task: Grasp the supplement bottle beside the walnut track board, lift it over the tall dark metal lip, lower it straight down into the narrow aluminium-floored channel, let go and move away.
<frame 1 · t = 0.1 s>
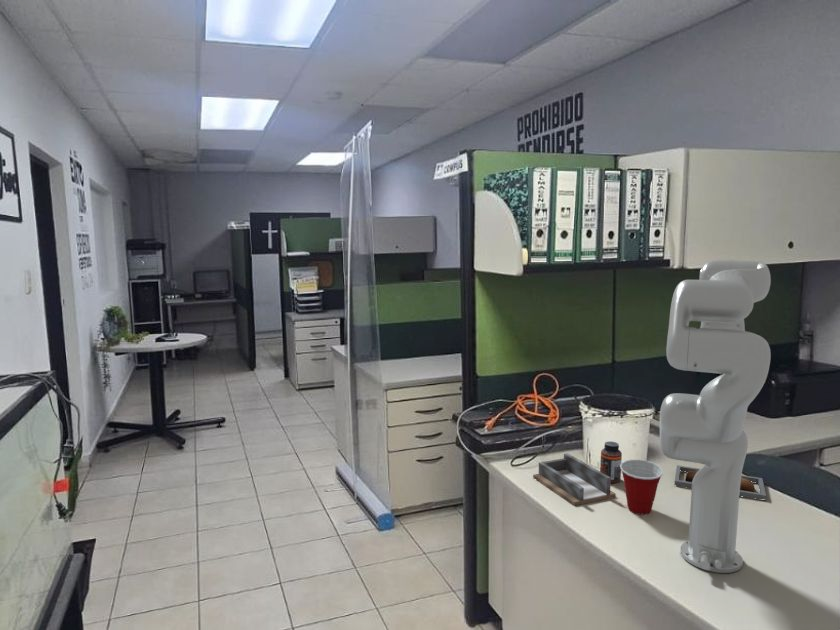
hand: (719, 376, 150), 37 cm above the table, tool pointing down, fingers open, 9 cm apart
sunglasses case: (719, 486, 173), on the table
plastic cup: (639, 510, 157), on the table
desk tray frame: (718, 484, 173), on the table
track board: (572, 487, 171), on the table
supplement bottle: (610, 480, 176), on the table
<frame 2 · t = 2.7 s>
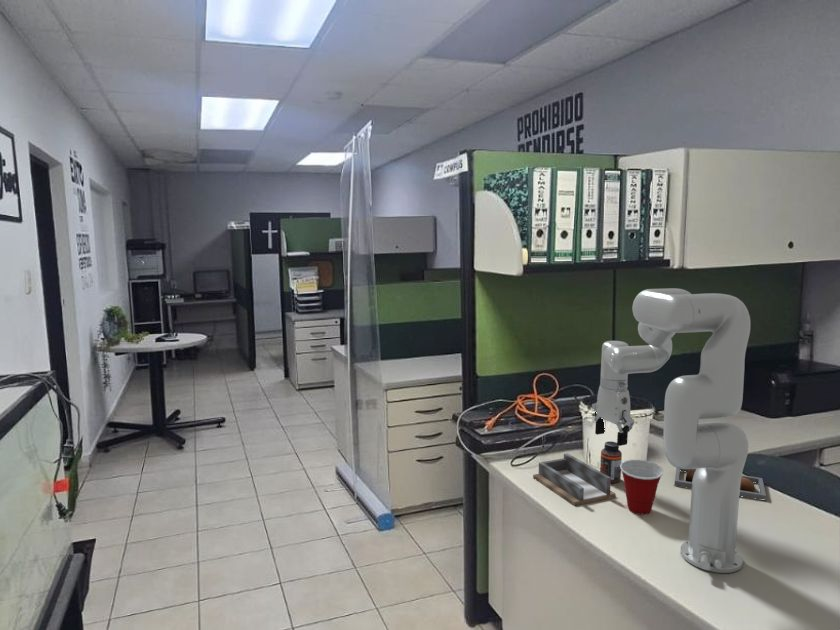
hand: (610, 439, 175), 12 cm above the table, tool pointing down, fingers open, 9 cm apart
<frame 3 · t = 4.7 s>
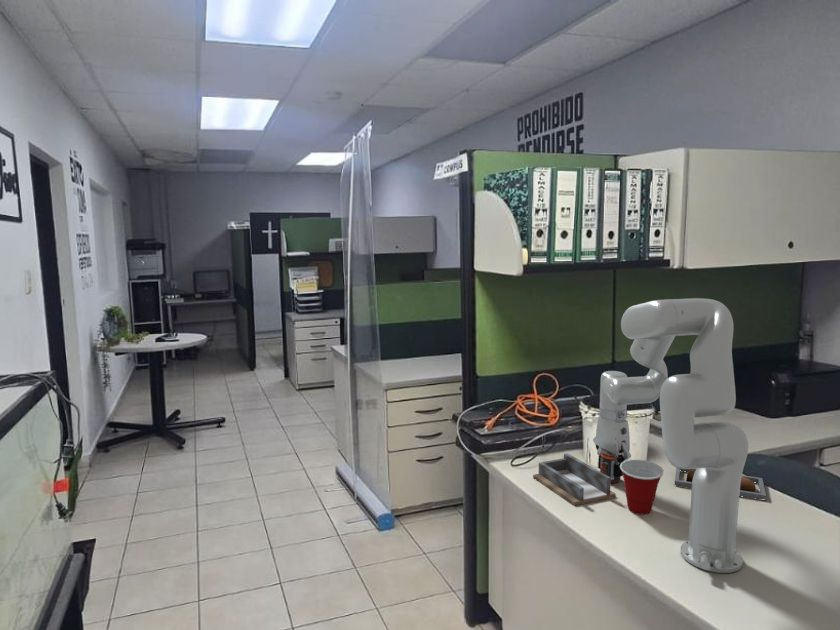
hand: (610, 471, 176), 3 cm above the table, tool pointing down, fingers closed on supplement bottle, 6 cm apart
supplement bottle: (610, 480, 176), on the table, touching gripper
everything else where it was.
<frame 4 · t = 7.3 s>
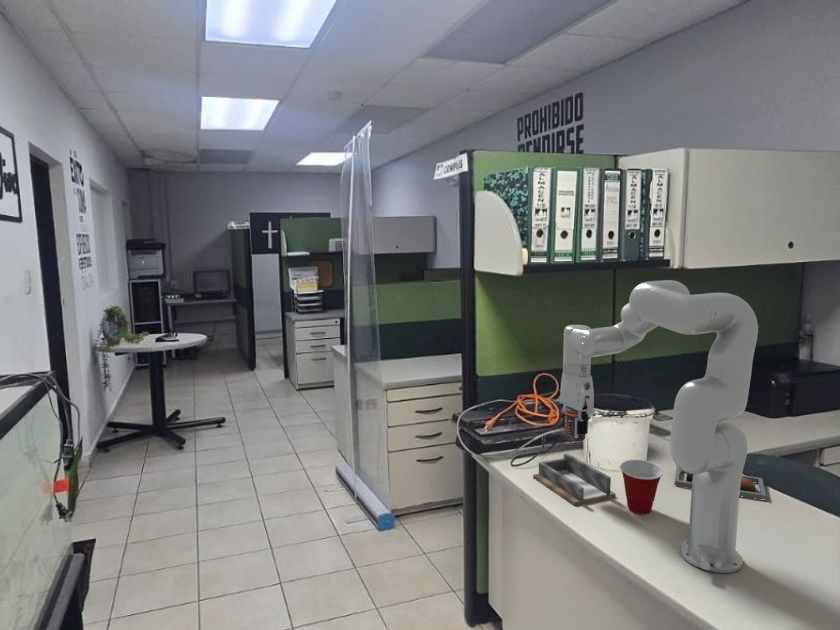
hand: (574, 429, 169), 17 cm above the table, tool pointing down, fingers closed on supplement bottle, 6 cm apart
supplement bottle: (574, 439, 169), point 14 cm above the table, touching gripper
everything else where it was.
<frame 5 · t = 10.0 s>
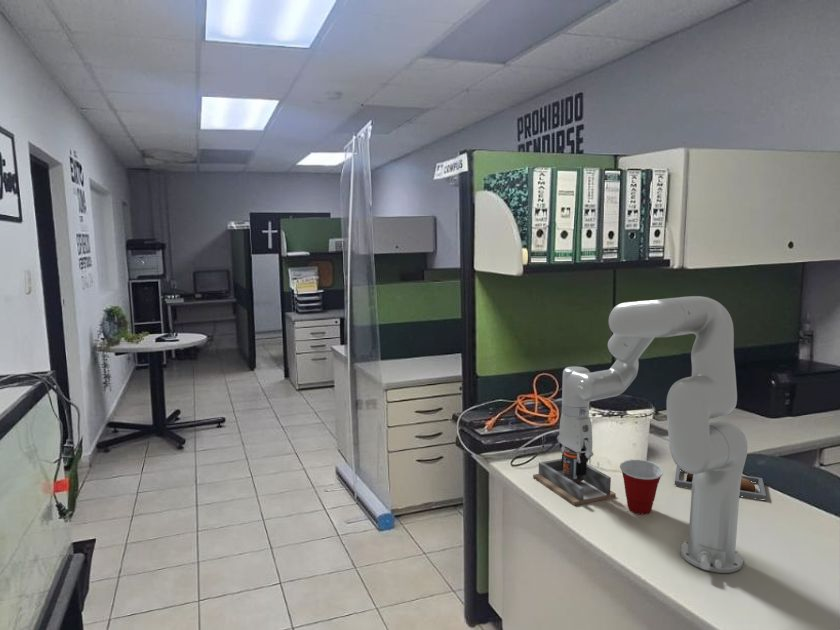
hand: (573, 470, 170), 5 cm above the table, tool pointing down, fingers closed on supplement bottle, 5 cm apart
supplement bottle: (573, 479, 171), point 2 cm above the table, touching gripper
everything else where it was.
when the fingers open (5 cm above the table, at t = 10.3 s): supplement bottle drops 1 cm, resting on track board.
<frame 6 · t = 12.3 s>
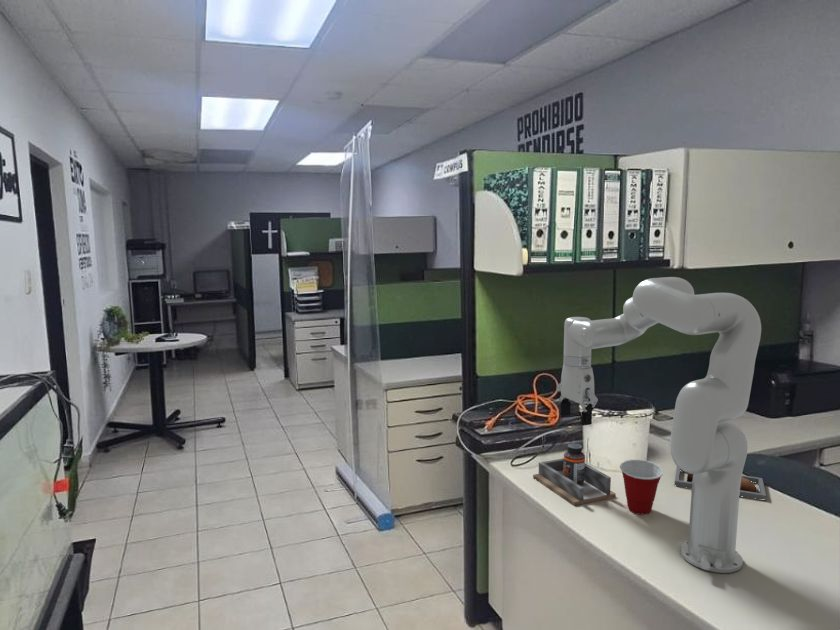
hand: (575, 419, 168), 20 cm above the table, tool pointing down, fingers open, 9 cm apart
supplement bottle: (573, 483, 171), point 1 cm above the table, touching track board
everything else where it was.
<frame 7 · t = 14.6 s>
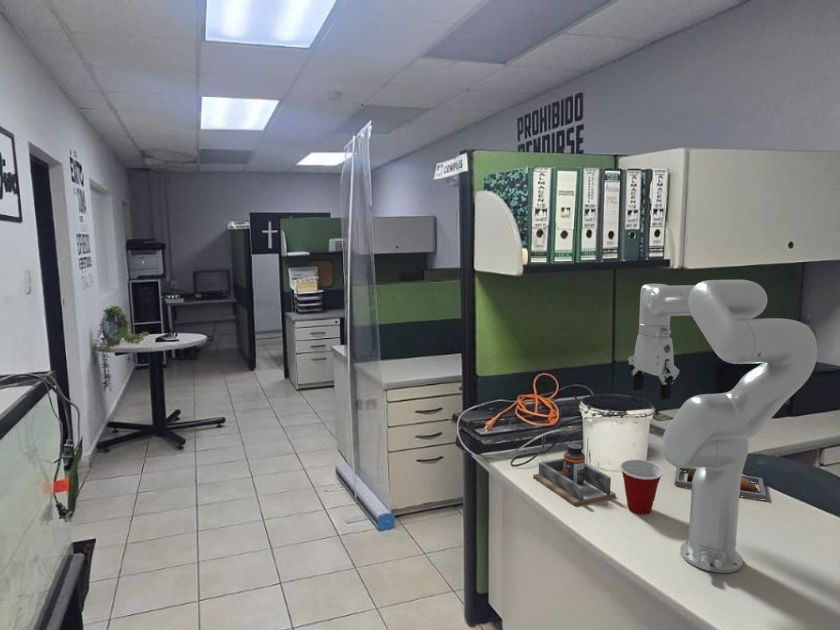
hand: (651, 394, 158), 30 cm above the table, tool pointing down, fingers open, 9 cm apart
nothing on the table moved.
at the end: supplement bottle inside the target area on the track board (0.3 cm from its centre), point 1.1 cm above the track board's base; supplement bottle tilted 0°; the gripper is holding nothing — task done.
